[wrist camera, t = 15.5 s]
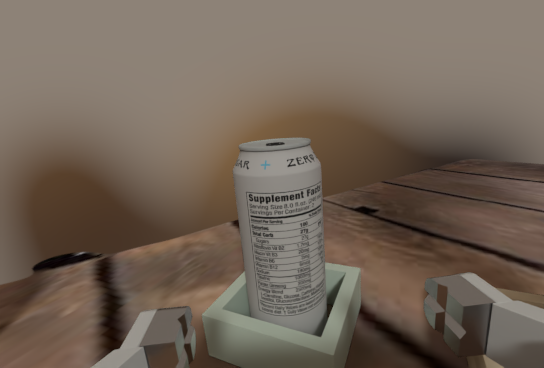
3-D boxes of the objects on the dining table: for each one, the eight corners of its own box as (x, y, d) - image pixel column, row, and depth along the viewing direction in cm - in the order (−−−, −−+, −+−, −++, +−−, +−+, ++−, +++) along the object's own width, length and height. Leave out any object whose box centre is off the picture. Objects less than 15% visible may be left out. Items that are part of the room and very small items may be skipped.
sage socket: (266, 283, 29) (263, 252, 28) (360, 303, 25) (360, 268, 24) (208, 355, 21) (201, 314, 20) (335, 403, 16) (333, 355, 16)
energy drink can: (317, 300, 25) (309, 134, 22) (337, 355, 20) (330, 142, 16) (252, 308, 25) (232, 142, 21) (252, 366, 19) (225, 152, 16)
